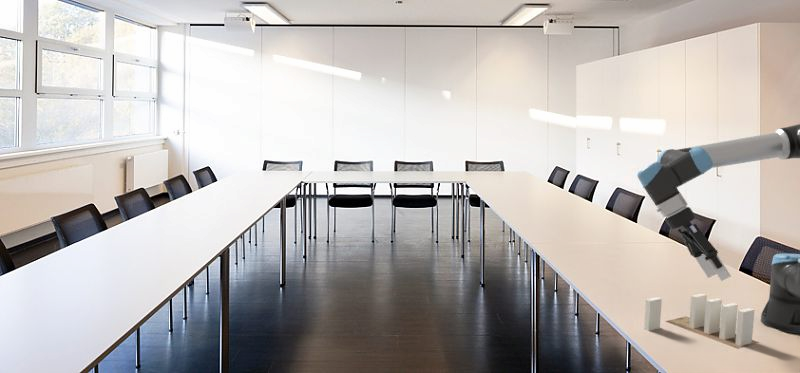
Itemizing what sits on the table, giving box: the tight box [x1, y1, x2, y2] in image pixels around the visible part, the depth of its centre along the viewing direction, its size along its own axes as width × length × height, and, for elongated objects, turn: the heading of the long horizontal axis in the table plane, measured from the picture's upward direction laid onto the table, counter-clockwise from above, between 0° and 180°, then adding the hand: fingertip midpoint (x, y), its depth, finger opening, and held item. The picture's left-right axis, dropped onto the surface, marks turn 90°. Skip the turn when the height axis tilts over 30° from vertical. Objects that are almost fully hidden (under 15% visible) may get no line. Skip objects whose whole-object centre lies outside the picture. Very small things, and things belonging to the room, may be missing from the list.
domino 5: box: [735, 307, 755, 346], centre depth 168 cm, size 2×5×10 cm, turn 117°
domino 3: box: [704, 297, 723, 334], centre depth 177 cm, size 2×5×10 cm, turn 117°
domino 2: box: [689, 293, 708, 328], centre depth 181 cm, size 2×5×10 cm, turn 117°
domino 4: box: [719, 302, 739, 340], centre depth 173 cm, size 2×5×10 cm, turn 117°
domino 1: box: [643, 296, 663, 332], centre depth 180 cm, size 2×5×10 cm, turn 117°
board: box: [665, 316, 760, 350], centre depth 178 cm, size 10×24×1 cm, turn 27°
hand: (719, 277), depth 165 cm, fingers open, 13 cm apart
